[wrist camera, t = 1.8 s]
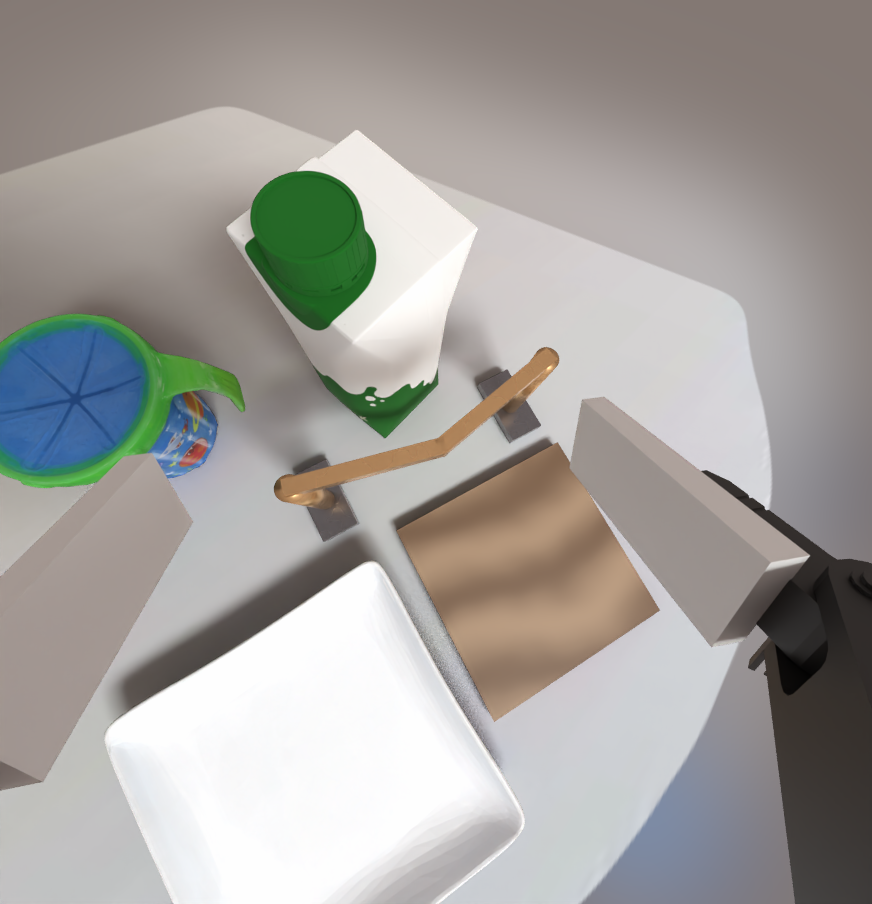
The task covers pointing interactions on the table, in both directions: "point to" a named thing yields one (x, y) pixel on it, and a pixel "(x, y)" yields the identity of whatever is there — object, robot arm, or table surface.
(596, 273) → the table surface
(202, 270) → the table surface
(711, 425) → the table surface
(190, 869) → the salad plate
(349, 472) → the copper wire
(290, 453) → the table surface
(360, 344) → the soya milk
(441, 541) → the walnut board
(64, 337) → the snack cup
